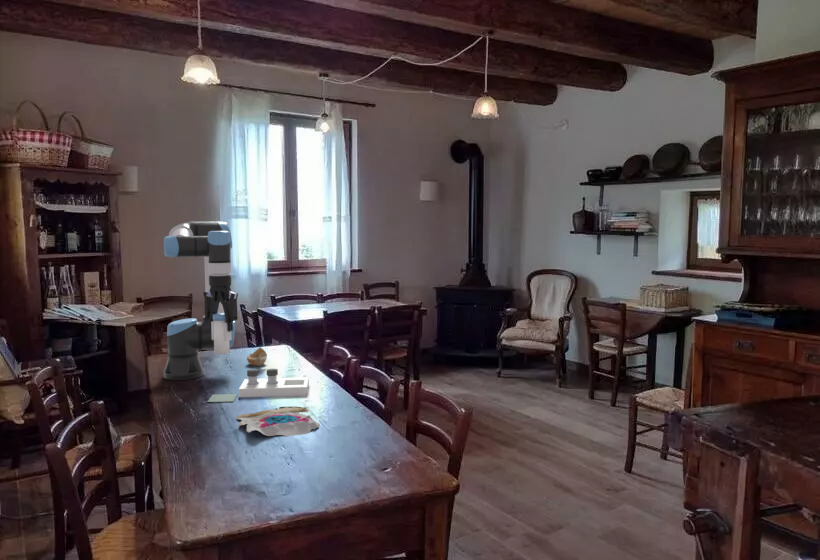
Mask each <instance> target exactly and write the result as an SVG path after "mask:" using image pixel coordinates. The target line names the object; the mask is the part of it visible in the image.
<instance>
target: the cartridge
mask: <svg viewBox="0 0 820 560" xmlns="http://www.w3.org/2000/svg"><path fill="white" fill-rule="evenodd" d="M225 322H226V318H225V314H224V313H214V314H213V325H214V349H213V350H214V351H213V353H214V354H215V355H226V354H227V355H228V354H229V353H230V348H229V341H225V326H224V323H225Z"/></svg>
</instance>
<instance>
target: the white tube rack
mask: <svg viewBox="0 0 820 560" xmlns="http://www.w3.org/2000/svg"><path fill="white" fill-rule="evenodd" d="M309 387H310V377H308V376H306V377H299V376H298V377H277V384H269V385H268V377H267V378H266V377H264V378H263V377H262V378H257V385H249V381H248V378H244V380H243V381H242V383H241V385H240V386H239V388H238V398H259V397H261V398H262V397H265V398H266V397H289V396H290V397H291V396H292V397H295V396H297V397H298V396H308V393H309V392H308V391H309Z"/></svg>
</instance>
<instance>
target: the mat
mask: <svg viewBox="0 0 820 560" xmlns="http://www.w3.org/2000/svg"><path fill="white" fill-rule="evenodd" d="M238 396H239V393H226V394H225V393H224V394H223V393H222V394H212V395H211V396H210V397H209V399H208V400H207V402H222V403H234V402H235V401H236V399H237V397H238ZM207 402H206V403H207Z"/></svg>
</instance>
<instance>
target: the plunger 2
mask: <svg viewBox="0 0 820 560" xmlns="http://www.w3.org/2000/svg"><path fill="white" fill-rule="evenodd" d="M278 371H279V370H278V368H269V369H266V376H267V378H268V385H269V384H277V378H278V377H277V376H278Z"/></svg>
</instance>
